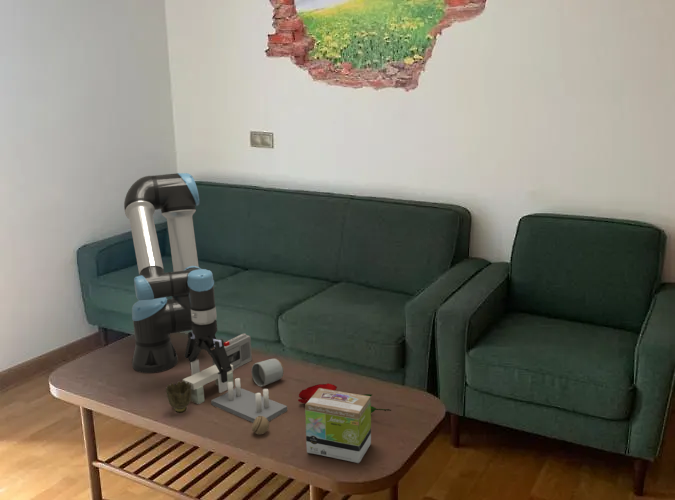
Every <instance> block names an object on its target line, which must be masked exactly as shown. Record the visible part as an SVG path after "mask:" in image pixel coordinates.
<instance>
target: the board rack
mask: <svg viewBox="0 0 675 500" xmlns="http://www.w3.org/2000/svg"><path fill="white" fill-rule="evenodd" d="M214 382H215V385H216V386H218V379H216V380H214ZM228 382H233V388H235V381H234V371H233V372H231V373H228V374H227V383H228ZM227 390H228V385H227ZM190 402H192V403H194V404H197V405H200V404H202V403H204V402H205V391H204V385H203V386H201V387H199V388H197V389H195V390H193V389H191V401H190Z"/></svg>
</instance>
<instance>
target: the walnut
mask: <svg viewBox="0 0 675 500" xmlns="http://www.w3.org/2000/svg"><path fill="white" fill-rule="evenodd" d="M269 422H270V421H269ZM269 422H268V420H267V418H265V417H264V416H258V417H256V419H255V420H254V422H253V423H252V425H251V430H252V432H253V433H254V434H257V435H264V434H266V432H267V431H268V430H269V427H270V423H269Z"/></svg>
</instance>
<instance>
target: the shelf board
mask: <svg viewBox="0 0 675 500" xmlns="http://www.w3.org/2000/svg"><path fill="white" fill-rule="evenodd" d="M230 365H231V364H230ZM231 368H232V370H231V371H228V372H227V374H228V373H231V372H233V373H234V370H235V369H234V370H233V365H231ZM218 372H219V370H218V368H217V366H216V365H213V364H212V365H211V366H209V367H208V368H205V369H202V370H201V371H200V372H198V373H196V374H193V375H192V374H191V375H190V376H189V375H188V376H187V377H185V378H182V381H185V382H186V383H188V382H189V384H190V383H191V389H193V390H195V389H197V388H199V387H201V386H203V387H204V386H205V385H207V384H208V383H211V382H215V380H216V379H218Z"/></svg>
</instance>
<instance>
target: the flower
mask: <svg viewBox="0 0 675 500" xmlns="http://www.w3.org/2000/svg"><path fill="white" fill-rule="evenodd" d="M319 388H322V389H329V390H334V391H337V388H338V386H337V385H335V384H332V383H328V382H327V383H325V384H324V383H320V384H319V383H318V384H315V385H312V386H308V387H307V388H305V389H302V390H300V392H299V395H298V397H299V398H298V400H297V401H298V403H301V404H304V405H305V404H306V403H307V402H308V401H309V400H310V398H311V397H312V396H313V395H314V394H315V392H316V391H317V390H318V389H319ZM364 395H365V396H371V397H372V396H373V394H370V393H369V394H368V393H367V394H365V393H364ZM375 411H384V412H388V411H389V412H392V409H390V408H376V407H374V406H372V405H371V414H372V413H374V412H375Z"/></svg>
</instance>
